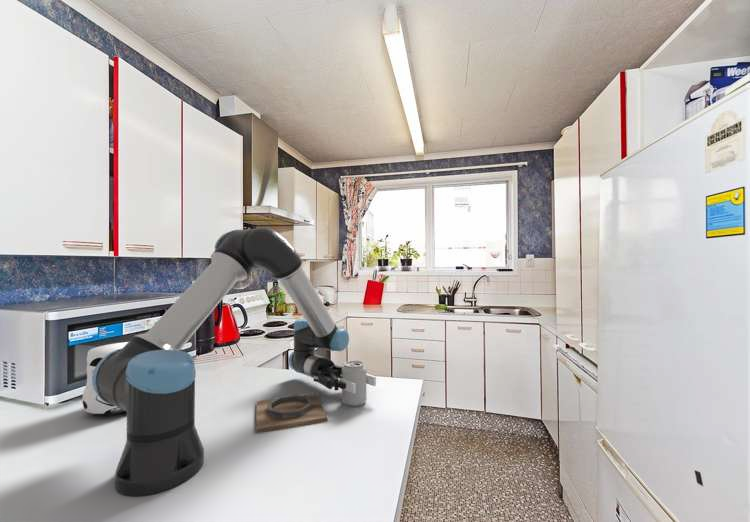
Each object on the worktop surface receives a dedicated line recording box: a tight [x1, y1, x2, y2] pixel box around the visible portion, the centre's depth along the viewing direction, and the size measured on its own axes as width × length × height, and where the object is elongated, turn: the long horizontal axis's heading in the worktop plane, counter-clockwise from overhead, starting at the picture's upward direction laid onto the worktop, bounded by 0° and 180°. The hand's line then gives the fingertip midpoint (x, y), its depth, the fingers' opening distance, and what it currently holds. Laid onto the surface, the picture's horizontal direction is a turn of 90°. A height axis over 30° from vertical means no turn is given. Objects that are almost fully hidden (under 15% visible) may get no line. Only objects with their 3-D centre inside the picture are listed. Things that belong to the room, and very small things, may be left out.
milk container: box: [81, 341, 129, 417], centre depth 98 cm, size 17×17×18 cm
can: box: [341, 360, 368, 407], centre depth 101 cm, size 8×8×12 cm
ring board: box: [255, 392, 329, 433], centre depth 94 cm, size 18×18×2 cm
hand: (365, 384), depth 97 cm, fingers closed on can, 7 cm apart
